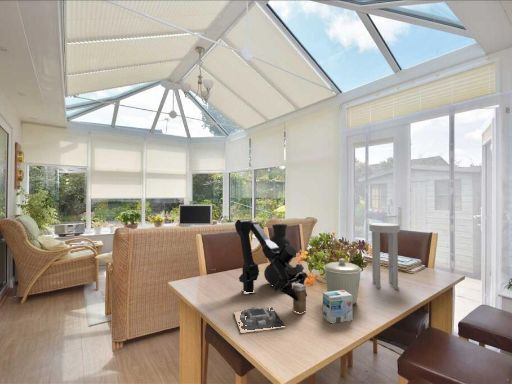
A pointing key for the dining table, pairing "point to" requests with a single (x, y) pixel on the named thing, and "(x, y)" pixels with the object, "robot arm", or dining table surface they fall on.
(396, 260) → the stool
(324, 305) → the light bulb box
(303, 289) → the tan tall block
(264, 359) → the dining table surface
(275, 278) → the vase
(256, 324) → the grey square base plate
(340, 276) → the canister
